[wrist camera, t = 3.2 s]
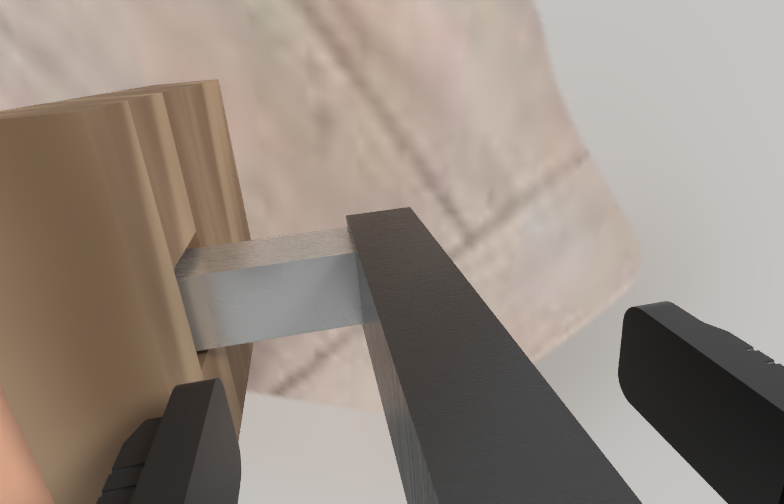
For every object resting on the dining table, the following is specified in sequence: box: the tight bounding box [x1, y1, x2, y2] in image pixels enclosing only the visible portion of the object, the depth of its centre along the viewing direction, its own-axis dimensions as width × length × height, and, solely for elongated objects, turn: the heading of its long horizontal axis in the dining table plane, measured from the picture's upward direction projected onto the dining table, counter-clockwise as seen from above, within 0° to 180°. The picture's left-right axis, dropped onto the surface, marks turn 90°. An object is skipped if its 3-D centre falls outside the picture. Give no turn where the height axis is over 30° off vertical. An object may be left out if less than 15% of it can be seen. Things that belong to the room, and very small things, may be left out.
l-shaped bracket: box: [174, 207, 642, 504], centre depth 10 cm, size 14×3×12 cm, turn 95°
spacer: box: [0, 386, 55, 504], centre depth 14 cm, size 2×8×8 cm, turn 5°
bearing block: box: [0, 80, 253, 504], centre depth 18 cm, size 3×11×16 cm, turn 5°
